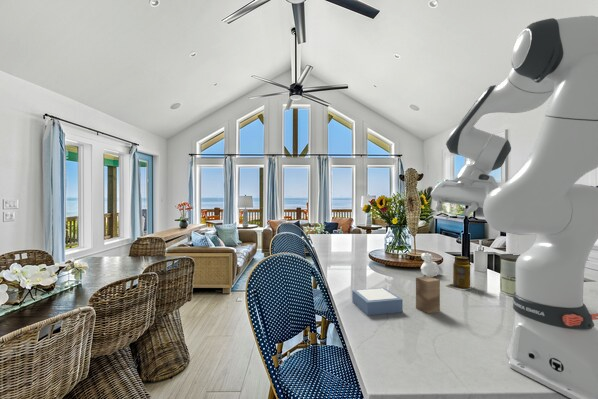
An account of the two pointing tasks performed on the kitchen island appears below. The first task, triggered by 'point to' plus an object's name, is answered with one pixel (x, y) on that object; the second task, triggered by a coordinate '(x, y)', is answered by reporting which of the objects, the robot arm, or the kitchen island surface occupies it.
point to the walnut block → (428, 294)
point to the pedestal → (377, 301)
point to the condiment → (461, 273)
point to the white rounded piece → (429, 265)
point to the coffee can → (508, 274)
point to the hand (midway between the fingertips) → (451, 212)
